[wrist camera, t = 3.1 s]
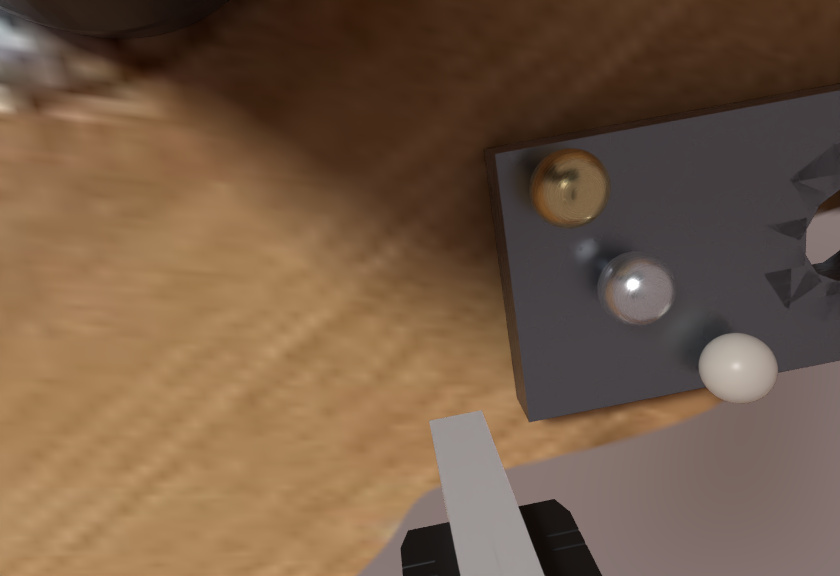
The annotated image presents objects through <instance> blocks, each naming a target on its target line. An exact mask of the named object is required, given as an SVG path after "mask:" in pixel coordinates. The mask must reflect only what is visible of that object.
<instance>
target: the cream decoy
mask: <svg viewBox="0 0 840 576" xmlns="http://www.w3.org/2000/svg"><path fill="white" fill-rule="evenodd" d="M699 373H700V377H701V379H702V382H703V383H704V385H705V386H706V388H707V389H708V390H709V391H710V392H711V393H712V394H714V395H715V396H716V397H718V398H720V399H722V400H724V401H727V402H732V403H740V404H743V403H750V402H754V401H757V400H759V399H761V398H762V397H764V396H765V395H766V394H768V393H769V392H770V391H771V389H772V388H773V386H774V384H775V382H776V380H777V376H778V365H777V361H776V358H775V356H774V354H773V353H772V351H771V350H770V348H769V347H768V346H767V345H766V344H765V343H763V342H762V341H761V340H759V339H757V338H755V337H753V336H751V335H747V334H743V333H729V334H724V335H721V336H719V337H717V338H715V339H713V340H712V341H711V342H709V343H708V344H707V345H706V347H705V348H704V349H703V351H702V353H701V355H700V359H699Z"/></svg>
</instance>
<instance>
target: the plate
mask: <svg viewBox="0 0 840 576" xmlns="http://www.w3.org/2000/svg"><path fill="white" fill-rule="evenodd" d="M567 148H577V149H582V150H585V151H588V152H590V153H592V154H593V155H595V156H596V157H597V158H599V159H600V160H601V161H602V163H603V164H604V165H605V167H606V169H607V171H608V173H609V176H610V180H611V194H610V198H609V201H608V204H607V205H606V207H605V209H604V210H603V212H602V213H601V214H600V215H599V216H598V217H597V218H596V219H595V220H594V221H592V222H591V223H589V224H587V225H585V226H582V227H579V228H573V229H564V228H558V227H555V226H553V225H550V224H548V223H547V222H545V221H544V220H543V219H542V218H540V216H539V215H538V214H537V213H536V211H535V210H534V208H533V206H532V203H531V200H530V196H529V184H530V179H531V177H532V174H533V172H534V170H535V168H536V167H537V165H538V164H539V163H540V162H541V161H542V160H543V159H544V158H545V157H547V156H548V155H549V154H551V153H553V152H556V151H558V150H561V149H567ZM484 155H485V162H486V170H487V177H488V185H489V192H490V200H491V207H492V215H493V222H494V230H495V237H496V245H497V252H498V260H499V267H500V275H501V282H502V290H503V297H504V305H505V312H506V320H507V327H508V335H509V342H510V349H511V357H512V364H513V372H514V379H515V387H516V394H517V399H518V401H519V403H520V405H521V407H522V409H523V411H524V413H525V415H526V417H527V419H528V421H529V422H533V421H538V420H543V419H548V418H553V417H558V416H563V415H568V414H573V413H578V412H583V411H588V410H593V409H598V408H603V407H608V406H613V405H618V404H623V403H628V402H633V401H638V400H644V399H649V398H654V397H659V396H664V395H669V394H674V393H679V392H684V391H689V390H694V389H699V388H704V387H706V386H705V385H704V383H703V382H702V379H701V377H700V373H699V359H700V355H701V353H702V351H703V349H704V348H705V347H706V345H707V344H708V343H709V342H711V341H712V340H713V339H715V338H717V337H719V336H721V335H724V334H729V333H743V334H747V335H751V336H753V337H755V338H757V339H759V340H761V341H762V342H763V343H765V344H766V345H767V346H768V347H769V348H770V350H771V351H772V353H773V354H774V356H775V358H776V361H777V365H778V373H779V372H784V371H789V370H794V369H799V368H804V367H809V366H814V365H819V364H824V363H829V362H834V361H839V360H840V251H838V252H837V253H836V254H834V255H833V256H832V257H830V258H829V259H828V260H826V261H825V262H823V263H818V264H813V265H811V263H810V261H809V260H808V258H807V256H806V255H805V252H806V251H805V250H806V229H807V227H808V225H809V224H810V221H811V220H812V218H813V217H814V215H815V213H816V211H817V209H818V207H819V206H820V204H822V203H823V202H824V201H826V200H827V199H828V198H830V197H831V196H832V195H833V194H835V193H836V192H837V191H839V190H840V83H839V84H833V85H828V86H823V87H817V88H812V89H806V90H801V91H795V92H790V93H785V94H779V95H774V96H768V97H763V98H758V99H752V100H747V101H741V102H736V103H730V104H725V105H720V106H714V107H709V108H703V109H698V110H692V111H687V112H682V113H676V114H671V115H665V116H660V117H654V118H649V119H644V120H638V121H633V122H627V123H622V124H617V125H611V126H606V127H600V128H595V129H589V130H584V131H579V132H573V133H568V134H562V135H557V136H551V137H546V138H541V139H535V140H530V141H524V142H519V143H513V144H508V145H503V146H497V147H492V148H486V149H484ZM633 251H641V252H647V253H650V254H653V255H655V256H657V257H659V258H660V259H662V260H663V261H664V262H665V263H666V264H667V265H668V266H669V267H670V269H671V270H672V272H673V274H674V277H675V280H676V288H677V289H676V297H675V300H674V303H673V305H672V307H671V308H670V310H669V311H668V312H667V313H666V314H665V315H664V316H663V317H662V318H660V319H659V320H657V321H655V322H653V323H651V324H647V325H641V326H633V325H627V324H623V323H621V322H618V321H617V320H615V319H613V318H612V317H611V316H610V315H608V313H607V312H606V311H605V310H604V309H603V307H602V305H601V303H600V301H599V298H598V292H597V284H598V279H599V276H600V274H601V272H602V270H603V268H604V267H605V266H606V265H607V264H608V263H609V262H610V261H611V260H612V259H613V258H615V257H617V256H618V255H621V254H623V253H627V252H633Z"/></svg>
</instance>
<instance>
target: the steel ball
mask: <svg viewBox="0 0 840 576" xmlns="http://www.w3.org/2000/svg"><path fill="white" fill-rule="evenodd" d="M676 289H677V288H676V280H675V277H674V274H673V272H672V270H671V269H670V267H669V266H668V265H667V264H666V263H665V262H664V261H663V260H662V259H660V258H659V257H657V256H655V255H653V254H650V253H647V252H641V251H633V252H627V253H623V254H621V255H618V256H617V257H615V258H613V259H612V260H611V261H610V262H609V263H608V264H607V265H606V266H605V267H604V268H603V270H602V272H601V274H600V276H599V279H598V284H597V292H598V298H599V301H600V303H601V305H602V307H603V309H604V310H605V311H606V312H607V313H608V315H610V316H611V317H612V318H613V319H615V320H617V321H618V322H621V323H623V324H627V325H633V326H641V325H647V324H651V323H653V322H655V321H657V320H659V319H660V318H662V317H663V316H664V315H665V314H666V313H667V312H668V311H669V310H670V308H671V307H672V305H673V303H674V300H675V297H676Z"/></svg>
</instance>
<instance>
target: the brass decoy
mask: <svg viewBox="0 0 840 576" xmlns="http://www.w3.org/2000/svg"><path fill="white" fill-rule="evenodd" d="M610 194H611V180H610V176H609V173H608V171H607V169H606V167H605V165H604V164H603V163H602V161H601V160H600V159H599V158H597V157H596V156H595V155H593V154H592V153H590V152H588V151H585V150H582V149H577V148H567V149H561V150H558V151H556V152H553V153H551V154H549V155H548V156H547V157H545V158H544V159H543V160H542V161H541V162H540V163H539V164H538V165H537V167H536V168H535V170H534V172H533V174H532V177H531V179H530V184H529V196H530V200H531V203H532V206H533V208H534V210H535V211H536V213H537V214H538V215H539V216H540V218H542V219H543V220H544V221H545V222H547V223H548V224H550V225H553V226H555V227H558V228H564V229H573V228H579V227H582V226H585V225H587V224H589V223H591V222H592V221H594V220H595V219H596V218H597V217H598V216H599V215H600V214H601V213H602V212H603V210H604V209H605V207H606V205H607V204H608V201H609V198H610Z"/></svg>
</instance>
